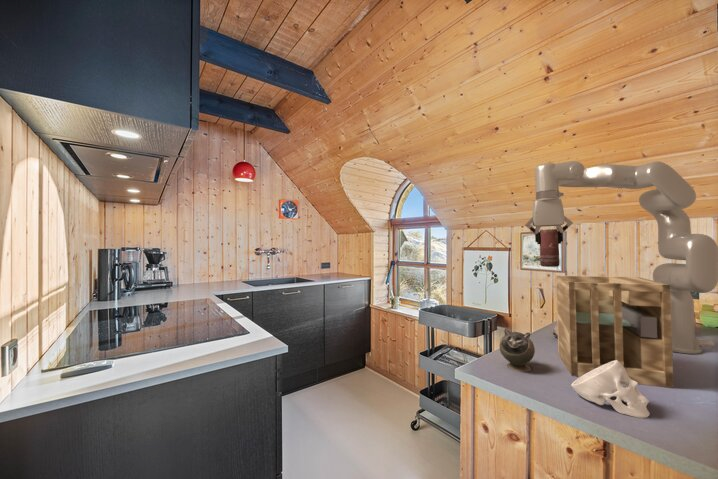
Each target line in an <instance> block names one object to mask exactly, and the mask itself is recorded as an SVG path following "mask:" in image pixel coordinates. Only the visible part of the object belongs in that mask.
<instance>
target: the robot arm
mask: <svg viewBox="0 0 718 479" xmlns="http://www.w3.org/2000/svg"><path fill="white" fill-rule="evenodd" d="M534 182H535V183H534V184H535V189H534V190H535V201H533V204H532V210H531V211H532V217H531V218H530V219H529V220H528V221H527V222H526V223H525V224H524V226H525V227H526V228H527V229H528V230H529V231H531V232H532V233H533V234H534V239H535V240H534V241H535V243H537V245H540V234H539V232H540V230H541V227H542V228H543V227H555V229H557V231H558V240H559V245H561V244H562V242H564V236H563V235H564V234H563V233H565V232H566V230H568V228H569V227H571V226H572V225H573V221H572V220H571V219H569V218H568V217H566V216H565V211H564V205H563V201H562V199H561V197H564V192H561V191H560V190H559V188H560V187H561V188H613V189H627V190H639V189H640V190H641V189H647V188H650V187H655V188H656V189H655V188H654V189H650V190H647V191H645V192H643V193H641V194H640V196H639V198H638V203H639V205H640V206H641V208H642V209H643V210H644V211H647V212H648V213H649V214H651V215H652V216H653V217H654V219H655V220H656V223H657V232H658V233H657V248H658V253H659V255H660V256H661V257H662V258H665V259H668V260H674V261H675V260H677V261H685V263H675V262H668V263H662V264H660V265H658V266H656V267H655V268H654V269H653V272H652V281H656V282H660V283H664V284H668V285H670V299H671V330H672V353H680V354H687V355H688V354H689V355H697V354H701V353H702V352H703V349H702V347H708V348H714V347H715V343H714V341H713V340H712V341H711V340H710V341H709V340H704V339H700V338H697V337H696V327H695V326H696V325H695V324H696V323H695V319H694V312H695V302H694V298H693V296H691V295H692V293H699V294H706V293H709V292H712V291H713V290H714V289H715V288H716V287H717V286H718V244H717V243H716V241H715V239H713V238H712V237H711V236H709V235H707V234H704V233H703V234H702V233H692V226H691V220H690V217H689V215H688V213H687V212H686V211H685V210H684V209H686V208H689V207H691V206H693V204H694V203H695V202H696V200H697V194H696V191H695V189H694V187H693V186H692V185H691V184H690V183H689V182H687V180H686V179H685V178H684V177H682V175H681V174H680V173H678V172H677V171H676V170H675V169H674V168H673V167H672V166H670V165H669V164H667V163H665V162H664V161H651V162H647V163H645V164H642V165H629V164H628V165H627V164H626V165H624V164H612V163H609V164H608V163H607V164H598V165H594V166H591V167H590V166H589V167H585V166H584V164H583V163H581V162H580V161H575V160H569V161H565V162H558V163H554V162H548V163H542V164H539V165H537V166H536V167H535V168H534ZM565 223H566V224H565ZM564 224H565V225H564ZM563 225H564V226H563ZM562 226H563V227H562Z"/></svg>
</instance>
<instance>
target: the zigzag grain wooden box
mask: <svg viewBox="0 0 718 479" xmlns="http://www.w3.org/2000/svg"><path fill="white" fill-rule="evenodd" d="M555 282H556V283H555V284H556V315H557V316H556V317H557V319H556V320H557V322H556V323H557V324H558V337H557V349H558V351H557V352H558V356H559V357H560V360H561V361H562V363H563V364H564V366H565V367H566V369H567V371H568V373H569V374H570V375H571V376H573V377H578V378H580V377H581V376H583V375H584V374H586V373H588V372H590V371H592V370H593V369H595V368H597V367H600V366H602V365H604V364H607V363H609V362H611V361H614V360H617V361H619V362H620V363H621V365H622V366H623V367H624V368H625V370H626V373H627V375H628V377H629V378H630V379H632V380H633V381H636V382H637V383H638V384H637V385H642V386H643V385H644V386H651V387H653V386H654V387H661V388H668V389H669V388H670V389H674V368H673V366H674V365H673V364H674V362H673V361H674V360H673V351H672V330H671V299H670V285H668V284H664V283H660V282H656V281H654V280H653V279H652V280H650V279H647V278H643V277H640V276H639V277H638V276H637V277H636V276H590V275H588V276H587V275H584V276H583V275H555ZM622 306H629V307H635V308H637V309H639V310H641V311H643V312H646V313H648V314H650V315H652V316H654V317H656V318H657V338H650V337H641V336H639V335H638V334H636V333H634V332H633V331H631V330H630V329H628V328H627V327H625V326H622ZM576 312H585V313H591V324H588V323H576ZM598 313H603V314H613V313H614V325H603V324H599V315H598Z"/></svg>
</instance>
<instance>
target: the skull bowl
mask: <svg viewBox="0 0 718 479" xmlns="http://www.w3.org/2000/svg"><path fill="white" fill-rule="evenodd" d="M637 385H639V384H638V383H637V382H636V381H633V380H632V379H630V378H629V377H628V375H627V373H626V370H625V368H624V367H623V366H622V365H621V363H620V362H619V361H617V360H614V361H611V362H609V363H607V364H604V365H602V366H600V367H597V368H595V369H593V370H592V371H590V372H588V373H586V374H584V375H583V376H581V377H578V378H576V379H575V380H574V381H573V382H572V383H571V385H570V386H571V388H572V389H573V390H574V391H575V393H577V394H578V395H579V396H580V397H581V398H583V399H585V400H587V401H589V402H591V403H595V404H597V405H599V406H604V405H605V402H608V403H609V404H610V405H611V406H612V407H613V409H614V411H616V412H618V413H619V414H622V415H627V416H629V417H634V418H639V419H640V418H641V419H645V418H648V417H649V416H650V413H651V412H649V410H648V408H647V405H648V404H649V403H650V401H649V399H648V398H647V397H646V396H645V395H643V394H642V393H641V391H639V390H638V387H637ZM612 397H616V399H611V398H612ZM622 401H623V402H624V403H625V404H624V403H623V402H622Z"/></svg>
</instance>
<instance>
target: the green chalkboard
mask: <svg viewBox="0 0 718 479" xmlns="http://www.w3.org/2000/svg"><path fill="white" fill-rule="evenodd" d="M598 315H599V324H603V325H614V313H613V314H603V313H598ZM576 323H588V324H591V313H585V312H576ZM622 326H625V327H627V328H628V329H630V330H631V331H633V332H634V333H636V334H638V335H639V336H641V337H650V338H657V318H656V317H654V316H652V315H650V314H648V313H646V312H643V311H641V310H639V309H637V308H635V307H629V306H622Z"/></svg>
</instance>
